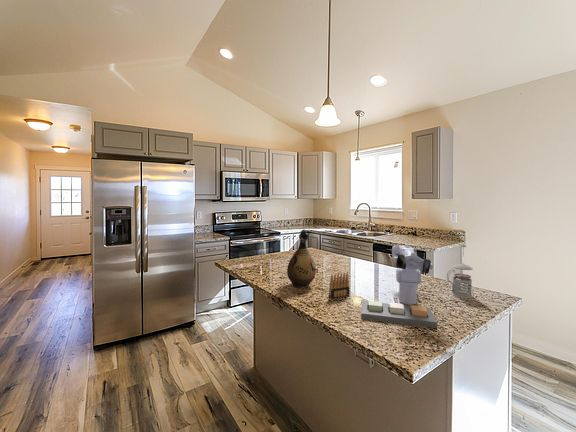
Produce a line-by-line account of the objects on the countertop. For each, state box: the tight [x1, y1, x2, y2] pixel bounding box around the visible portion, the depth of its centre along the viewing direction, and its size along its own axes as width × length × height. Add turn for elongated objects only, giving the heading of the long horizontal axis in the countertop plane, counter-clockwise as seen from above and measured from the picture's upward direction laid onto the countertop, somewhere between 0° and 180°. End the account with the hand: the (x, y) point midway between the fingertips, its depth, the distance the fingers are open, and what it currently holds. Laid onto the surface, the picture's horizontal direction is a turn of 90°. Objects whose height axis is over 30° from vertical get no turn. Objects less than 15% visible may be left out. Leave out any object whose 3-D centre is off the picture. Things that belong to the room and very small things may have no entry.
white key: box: [388, 302, 404, 314], centre depth 110 cm, size 5×5×3 cm
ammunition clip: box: [328, 272, 350, 299], centre depth 132 cm, size 11×2×12 cm, turn 116°
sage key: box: [368, 300, 383, 312], centre depth 112 cm, size 5×5×3 cm
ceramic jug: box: [286, 229, 317, 289], centre depth 151 cm, size 17×15×30 cm
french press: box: [446, 243, 474, 299], centre depth 138 cm, size 10×12×25 cm
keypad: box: [360, 300, 438, 329], centre depth 110 cm, size 14×26×3 cm, turn 73°
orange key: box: [410, 304, 427, 317], centre depth 108 cm, size 5×5×3 cm
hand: (415, 268), depth 106 cm, fingers open, 7 cm apart
